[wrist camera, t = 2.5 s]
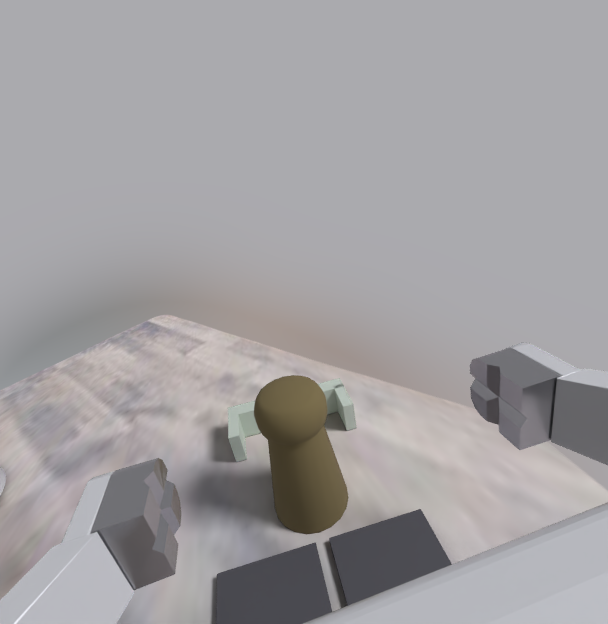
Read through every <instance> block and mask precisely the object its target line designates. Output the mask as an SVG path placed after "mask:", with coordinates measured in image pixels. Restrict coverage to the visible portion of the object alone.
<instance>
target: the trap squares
mask: <svg viewBox="0 0 608 624" xmlns="http://www.w3.org/2000/svg"><path fill="white" fill-rule="evenodd" d="M329 540H330V544H331V548H332V551H333V555H334V559H335V562H336V566H337V569H338V573H339V577H340V580H341V584H342V587H343V591H344V595H345V598H346V602H347V605H348V606H349V605H351V604H354V603H356V602H359V601H361V600H364V599H366V598H369V597H371V596H374V595H376V594H379V593H381V592H384V591H386V590H389V589H392V588H394V587H397V586H399V585H402V584H404V583H407V582H409V581H412V580H414V579H417V578H419V577H422V576H424V575H427V574H429V573H432V572H434V571H437V570H440V569H442V568H445V567H447V566H450V565H452V564H451V562H450V560H449V559H448V557H447V555H446V553H445V551H444V550H443V548H442V546H441V544H440V543H439V541H438V539H437V537H436V535H435V534H434V532H433V530H432V528H431V527H430V525H429V523H428V521H427V520H426V518H425V516H424V514H423V512H422V511H421V509H419V510H416V511H413V512H410V513H407V514H403V515H400V516H397V517H394V518H391V519H388V520H385V521H381V522H378V523H375V524H372V525H369V526H366V527H363V528H359V529H356V530H353V531H350V532H347V533H344V534H341V535H338V536H334V537H331V538H329ZM331 612H332V609H331V605H330V601H329V596H328V592H327V588H326V584H325V580H324V576H323V571H322V567H321V563H320V559H319V555H318V550H317V546H316V543H312V544H309V545H306V546H303V547H300V548H297V549H294V550H290V551H287V552H284V553H281V554H278V555H275V556H272V557H269V558H265V559H262V560H259V561H256V562H253V563H250V564H247V565H243V566H240V567H237V568H234V569H231V570H228V571H225V572H221V573H218V574H217V611H216V624H303V623H306V622H308V621H311V620H313V619H316V618H318V617H321V616H323V615H326V614H328V613H331Z"/></svg>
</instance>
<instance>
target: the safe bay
mask: <svg viewBox="0 0 608 624" xmlns="http://www.w3.org/2000/svg"><path fill="white" fill-rule="evenodd" d="M318 385H319V386H320V388H321V389H322V390H323V392H324V394H325V396H326V402H327V409H328V412H327V415H328V414H331V413H335V412H339V415H340V417H341V419H342V421H343V423H344V426H345V428H346V430H347V431H348V430H352V429H355V428H356V421H355V413H354V406H353V403H352V401H351V399H350V397H349V395H348V393H347V391H346V389H345V388H344V386H343V384H342V382H341V380H340V378H338V379H335V380H331V381H327V382H323V383H320V384H318ZM254 405H255V401H252V402H248V403H244V404H240V405H237V406H233V407H229V408H228V439H229V442H230V445H231V448H232V451H233V454H234V457H235V460H236V462H239V461H242V460H246V459H247V456H246V443H245V437H248V436H252V435H255V434H259V433H261V432H260V430H259V429H258V426H257V423H256V420H255V417H254Z"/></svg>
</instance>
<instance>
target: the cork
mask: <svg viewBox="0 0 608 624" xmlns="http://www.w3.org/2000/svg"><path fill="white" fill-rule="evenodd" d="M327 412H328V409H327V402H326V396H325V394H324V392H323V390H322V389H321V388H320V386H319V385H318V384H317V383H316V382H315V381H313V380H311V379H310V378H308V377H304V376H294V375H292V376H286V377H281V378H279V379H276V380H274V381H272V382H270V383H268V384H267V385H266V386H265V387H263V388H262V389H261V391H260V392H259V394H258V396H257V398H256V400H255V405H254V417H255V420H256V423H257V426H258V429H259V430H260V432H261V433H262V435H263V436H264V437H266V438H267V439H268V444H269V454H270V464H271V474H272V483H273V493H274V503H275V509H276V513H277V516H278V518H279V520H280V521H281V522H282V523H283V524H284V526H285V527H287V528H289V529H291V530H292V531H294V532H298V533H303V534H312V533H319V532H321V531H324V530H326V529H328V528H330V527H332V526H333V525H334V524H335V523H336V522H337V521H338V520H339V519H340V518H341V517H342V515H343V513H344V511H345V510H346V507H347V502H348V492H347V487H346V484H345V481H344V479H343V476H342V473H341V470H340V468H339V465H338V462H337V459H336V457H335V454H334V451H333V448H332V446H331V443H330V440H329V437H328V435H327V432H326V429H325V426H324V424H325V421H326V418H327Z"/></svg>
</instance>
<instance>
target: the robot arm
mask: <svg viewBox="0 0 608 624" xmlns="http://www.w3.org/2000/svg"><path fill="white" fill-rule="evenodd" d="M470 374H471V375H472V376H473V377H474V378H475V380H474V382H473V384H472V385H471V387H470V388H471V389H470V390H471V399H472V402H473V404H474V407H475V408H476V410H477V411H478V413H479V414H480V415H481V416H482V417H483V418H484V419H485V420H486V421H488V422H491V423H494V424H498V426H499V432H500V433H501V434H502V435H503V436H504V437H505V438H506V439H507V440H509V441H510V442H511V443H512V444H513V445H514V446H515V447H516V448H518V449H519V450H522V449H525V448H528V447H531V446H534V445H537V444H540V443H543V442H546V441H549V440H551V442H553V443H555V444H557V445H560V446H562V447H565V448H567V449H570V450H572V451H574V452H577V453H579V454H582V455H584V456H587V457H589V458H592V459H594V460H596V461H599V462H601V463H604V464H606V465H608V372H605V371H599V370H594V369H588V368H586V369H582V370H580V369H578V368H576V367H574V366H572V365H570V364H569V363H567V362H565V361H563V360H561V359H559V358H557V357H555V356H553V355H551V354H549V353H547V352H546V351H544V350H542V349H540V348H538V347H536V346H534V345H532V344H530V343H524V342H523V343H520V344H517V345H514V346H511V347H508V348H506V349H504V350H501V351H498V352H495V353H492V354H489V355H486V356H482V357H480V358H476V359H473V360H472V362H471V364H470ZM166 476H167V468H166V466H165V464H164V462H163V460H161V459H159V458H157V459H154V460H150V461H147V462H143V463H140V464H136V465H133V466H129V467H126V468H123V469H119V470H116V471H115V472H110V473H106V474H103V475H100V476H97V477H93V478H92V479H91V480H90V481H88V483H87V485H86V487H85V489H84V492H83V494H82V496H81V499H80V501H79V503H78V506H77V508H76V510H75V512H74V515H73V517H72V519H71V522H70V524H69V526H68V529H67V531H66V533H65V536H64V538H63V540H62V543H61V544H59V545H56V546H53V547H52V548H51V549H50V550H49V551H48V552H47V553H46V554H45V555H44V556H43V557H42V558H41V559H40V560H39V561H38V562H37V563H36V564H35V565H34V566H33V568H32V569H31V570H30V571H29V572H28V573H27V574H26V575H25V576H24V577H23V578H22V579H21V580H20V581H19V582H18V583H17V584H16V585H15V586H14V587H13V588H12V589H11V590H10V591H9V592H8V593H7V594H6V595H5V596H4V597H3V598H2V599H1V600H0V624H117V622H118V620H119V618H120V617H121V615H122V613H123V612H124V610H125V608H126V606H127V605H128V603H129V601H130V600H131V598H132V596H133V594H134V591H133V590H136V589H138V588H141V587H143V586H146V585H148V584H151V583H154V582H156V581H159V580H161V579H164V578H166V577H169V576H171V575H174V574H175V569H176V560H177V551H178V543H177V541H176V539H175V537H174V534H175V533H176V531H177V530H178V528H179V527H180V522H181V507H180V500H179V496H178V492H177V490H176V488H175V485H174V484H173V483H171V482H169V481H167V480H166ZM5 482H6V474H5V471H4V470H3V469H2V468H1V467H0V495H1V493H2V491H3V489H4V486H5ZM303 624H608V502H607V503H605V504H602V505H600V506H597V507H595V508H592V509H590V510H587V511H585V512H582V513H580V514H577V515H575V516H572V517H570V518H567V519H565V520H562V521H560V522H557V523H555V524H552V525H550V526H547V527H545V528H542V529H540V530H537V531H535V532H532V533H530V534H527V535H525V536H522V537H520V538H517V539H515V540H512V541H510V542H507V543H505V544H502V545H500V546H497V547H495V548H492V549H490V550H487V551H485V552H482V553H480V554H477V555H475V556H472V557H470V558H467V559H465V560H462V561H460V562H457V563H455V564H452V565H450V566H447V567H445V568H442V569H440V570H437V571H434V572H432V573H429V574H427V575H424V576H422V577H419V578H417V579H414V580H412V581H409V582H407V583H404V584H402V585H399V586H397V587H394V588H392V589H389V590H386V591H384V592H381V593H379V594H376V595H374V596H371V597H369V598H366V599H364V600H361V601H359V602H356V603H354V604H351V605H349V606H346V607H344V608H341V609H339V610H336V611H333V612H331V613H328V614H326V615H323V616H321V617H318V618H316V619H313V620H311V621H308V622H306V623H303Z"/></svg>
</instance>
